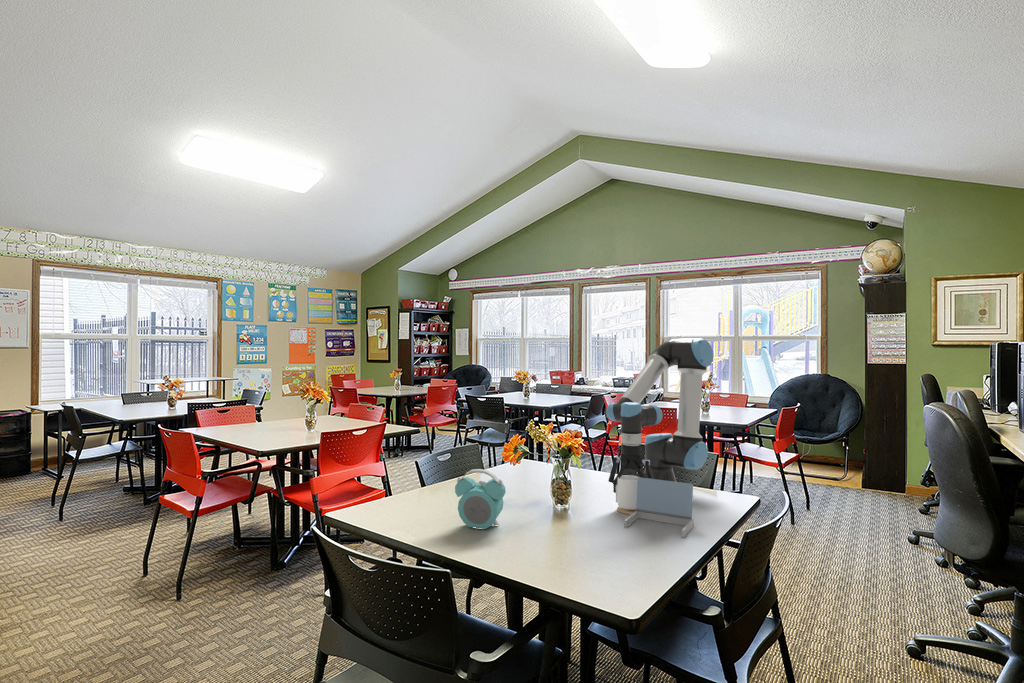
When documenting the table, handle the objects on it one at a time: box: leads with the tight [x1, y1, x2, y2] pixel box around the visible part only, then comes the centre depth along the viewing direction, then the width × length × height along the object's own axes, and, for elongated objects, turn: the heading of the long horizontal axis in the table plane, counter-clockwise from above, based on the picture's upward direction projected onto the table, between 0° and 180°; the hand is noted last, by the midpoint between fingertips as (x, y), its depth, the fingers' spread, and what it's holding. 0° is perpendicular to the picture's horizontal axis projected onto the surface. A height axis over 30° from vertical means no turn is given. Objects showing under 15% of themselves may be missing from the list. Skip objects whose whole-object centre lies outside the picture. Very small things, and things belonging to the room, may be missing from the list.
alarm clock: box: [454, 468, 507, 530], centre depth 187 cm, size 17×10×20 cm, turn 74°
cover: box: [636, 476, 694, 520], centre depth 192 cm, size 12×19×1 cm
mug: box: [617, 474, 639, 510], centre depth 204 cm, size 9×12×11 cm
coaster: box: [616, 506, 636, 516], centre depth 204 cm, size 11×11×1 cm
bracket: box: [623, 511, 694, 538], centre depth 186 cm, size 13×20×2 cm, turn 59°
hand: (631, 503), depth 204 cm, fingers open, 10 cm apart
